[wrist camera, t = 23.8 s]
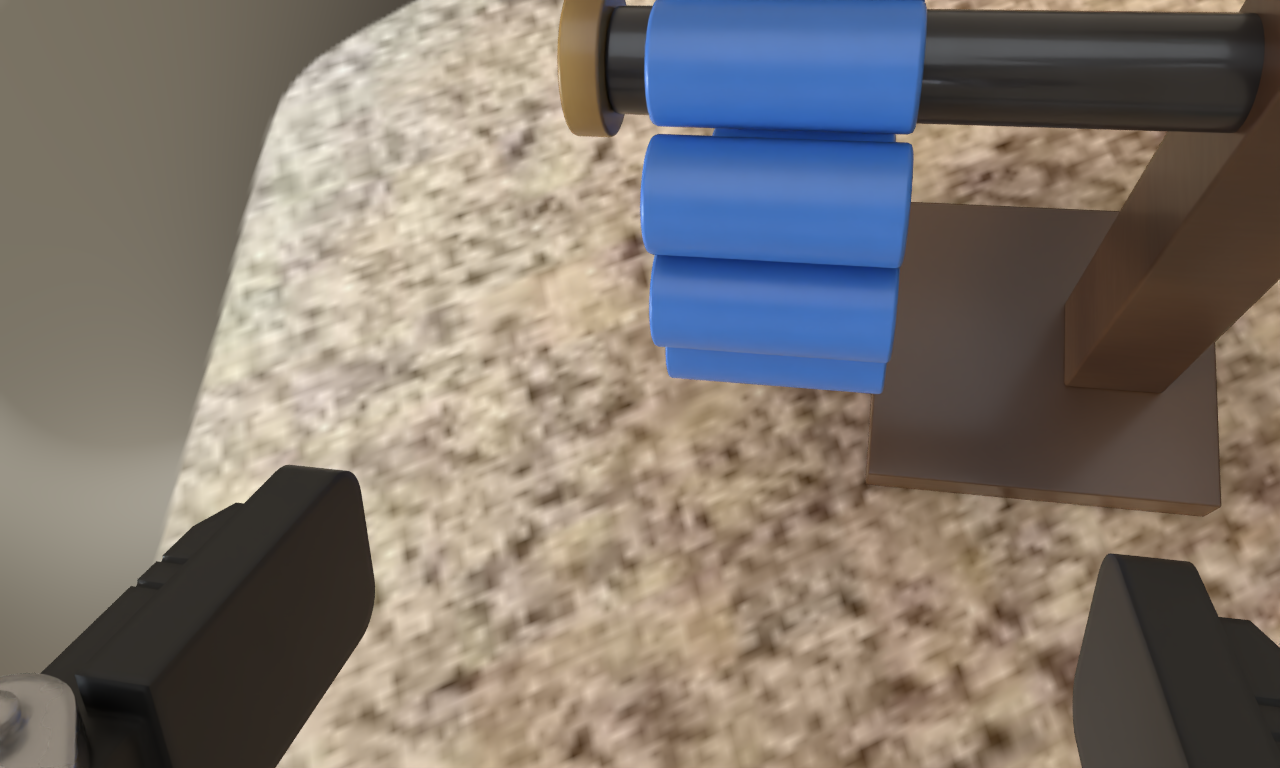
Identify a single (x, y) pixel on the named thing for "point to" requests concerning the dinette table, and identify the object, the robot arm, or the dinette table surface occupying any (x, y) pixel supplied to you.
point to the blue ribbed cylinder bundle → (780, 186)
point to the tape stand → (1054, 250)
